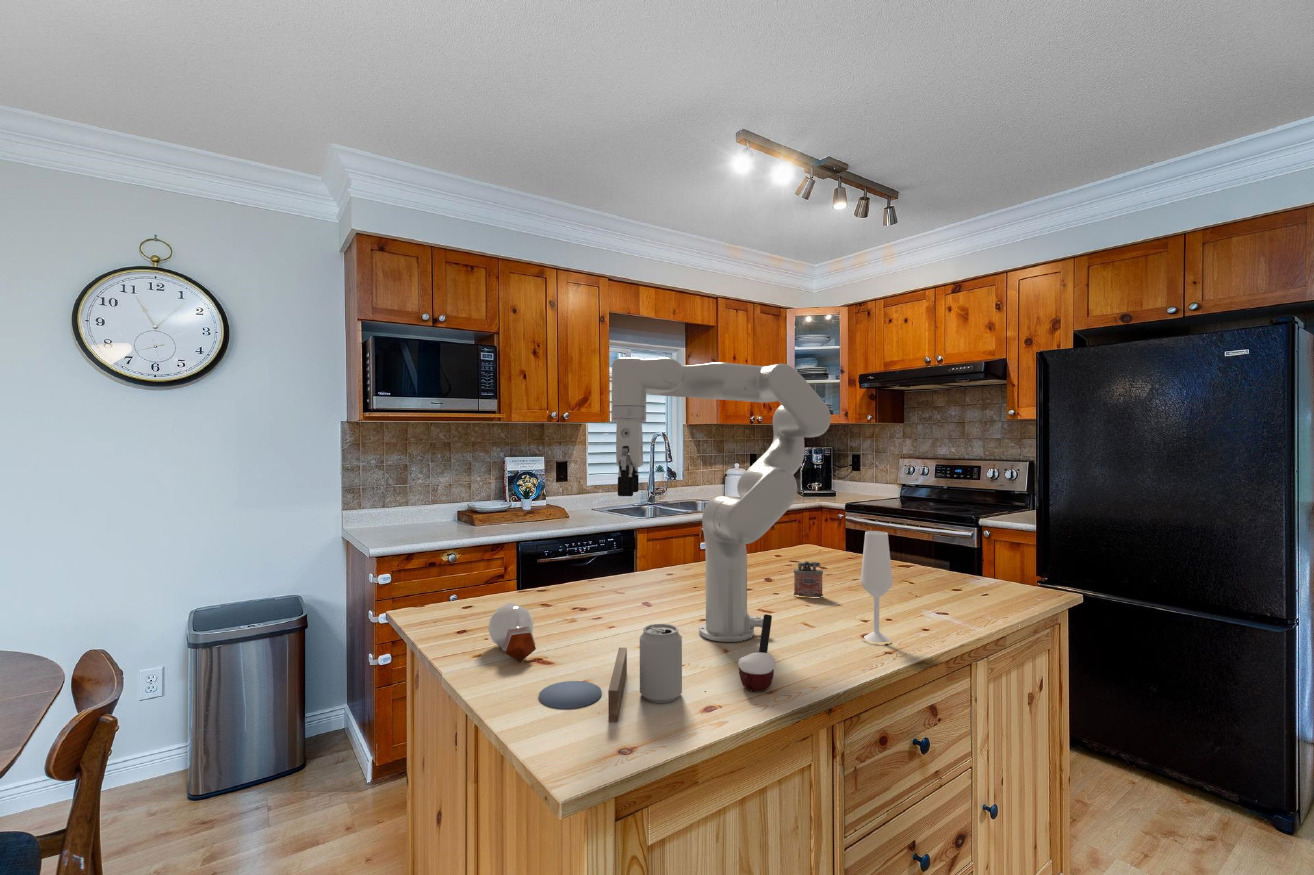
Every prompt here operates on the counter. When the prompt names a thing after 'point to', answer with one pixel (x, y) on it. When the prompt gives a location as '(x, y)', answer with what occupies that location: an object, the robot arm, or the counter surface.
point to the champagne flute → (876, 574)
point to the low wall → (617, 685)
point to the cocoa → (758, 663)
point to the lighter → (808, 579)
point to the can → (660, 663)
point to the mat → (570, 694)
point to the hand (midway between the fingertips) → (628, 493)
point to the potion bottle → (513, 631)
